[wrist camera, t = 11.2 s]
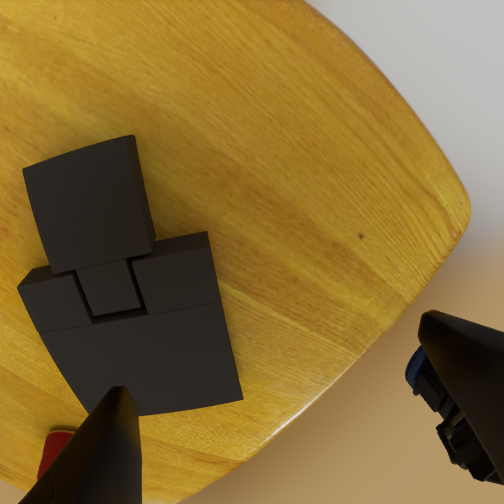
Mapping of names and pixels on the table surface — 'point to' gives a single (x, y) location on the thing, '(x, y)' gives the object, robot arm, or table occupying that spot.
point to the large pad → (142, 332)
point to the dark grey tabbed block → (94, 219)
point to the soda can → (53, 448)
